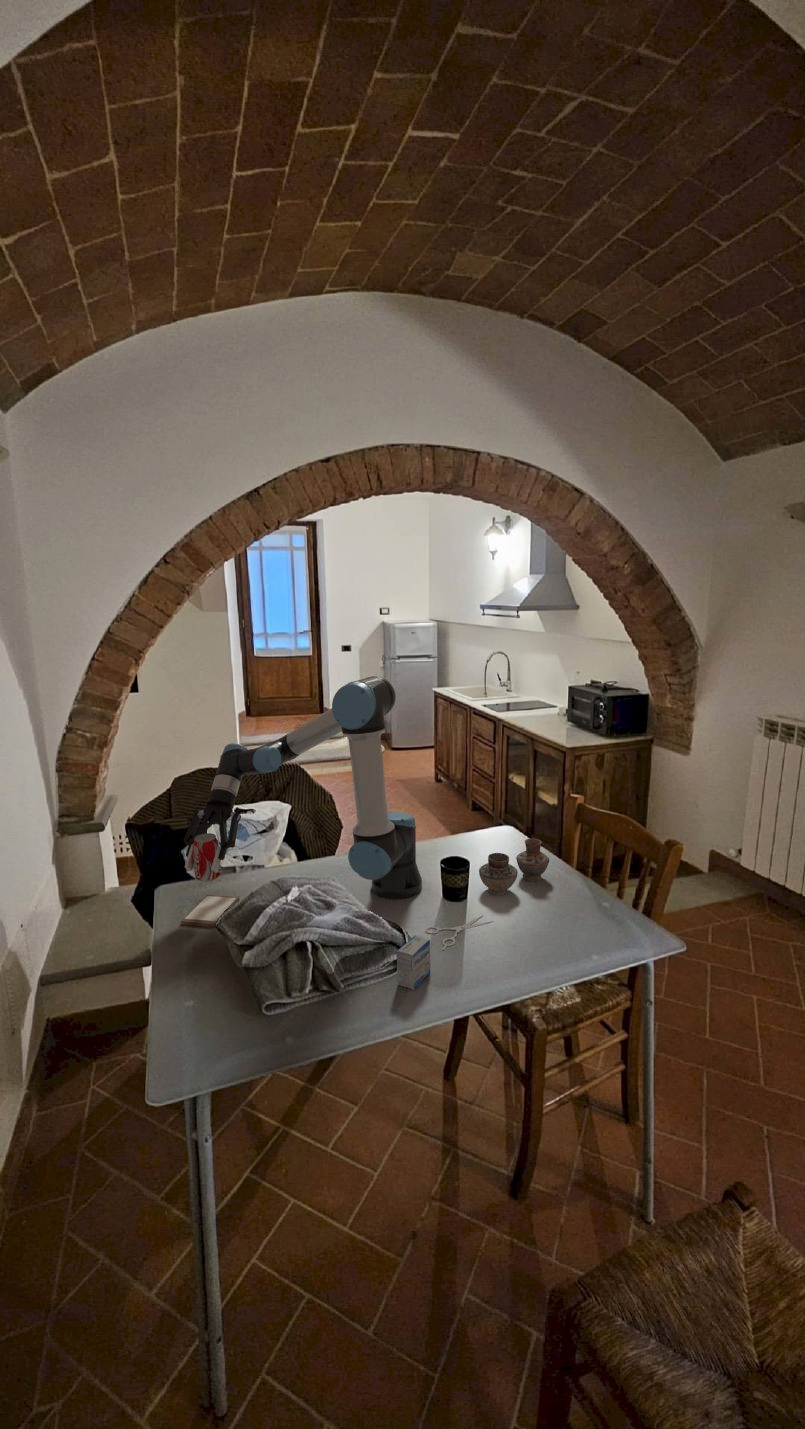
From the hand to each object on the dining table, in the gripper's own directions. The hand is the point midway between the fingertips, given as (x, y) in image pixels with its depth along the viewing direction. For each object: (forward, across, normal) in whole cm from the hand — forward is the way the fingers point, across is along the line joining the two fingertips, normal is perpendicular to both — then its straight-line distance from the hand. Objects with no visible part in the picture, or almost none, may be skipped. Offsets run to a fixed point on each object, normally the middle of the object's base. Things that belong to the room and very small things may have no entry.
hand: (201, 869), depth 169 cm
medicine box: (+23, -61, +3) cm, 66 cm away
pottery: (-13, -84, -33) cm, 91 cm away
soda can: (+1, 0, -6) cm, 6 cm away
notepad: (+8, 0, -12) cm, 15 cm away
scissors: (+7, -70, -14) cm, 72 cm away
